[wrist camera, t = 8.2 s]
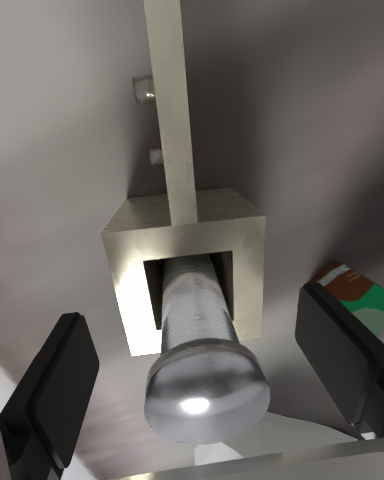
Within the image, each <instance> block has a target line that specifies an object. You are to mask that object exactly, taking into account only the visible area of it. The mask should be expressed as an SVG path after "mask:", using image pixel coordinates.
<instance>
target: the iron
mask: <svg viewBox="0 0 384 480" xmlns="http://www.w3.org/2000/svg"><path fill="white" fill-rule="evenodd" d="M354 441H358V439H356V438H353V437H351V436H349V435H346V434H344V433H342V432H339V431H337V430H335V429H332V428H330V427H328V426H324V425H320V424H317V423H313V422H310V421H305V420H300V419H295V418H289V417H285V416H281V415H278V414H274V413H270V412H267V411H266V413H265V414H264V416H263V417H262V418H261V420H260V421H259V422H258V423H257V424H256V425H254V426H253V427H252V428H250V429H249V430H248V431H246V432H244V433H243V434H241V435H239V436H236V437H234V438H232V439H229V440H226V441H222V442H218V443H213V444H205V445H194V447H195V466H197V465H203V464H209V463H216V462H222V461H228V460H235V459H241V458H247V457H254V456H260V455H266V454H273V453H280V452H286V451H293V450H299V449H306V448H312V447H319V446H326V445H332V444H339V443H346V442H354Z"/></svg>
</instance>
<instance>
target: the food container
mask: <svg viewBox="0 0 384 480" xmlns="http://www.w3.org/2000/svg"><path fill="white" fill-rule="evenodd" d="M315 282H319V283H321V284H322V285H323V286H324V287H325V288H326V289H327V290H328V291H329V292H330V293H331V294H332V295H333V296H334V297H335V298H337V299H338V300H339V301H340V302H341V303H342V304H343V305H344V306H345V307H346V308H347V309H348V310H349V311H350V312H351V313H352V314H353V315H354V316H355V317H356V318H358V319H359V320H360V321H361V322H362V323H363V324H364V325H365V326H366V327H367V328H368V329H369V330H370V331H371V332H372V333H373V334H374V335H375V336H376V337H377V338H378V339H380V340H381V341H382V342H383V343H384V288H382V287H381V286H379V285H378V284H376V283H374V282H373V281H371V280H369V279H368V278H366V277H364V276H363V275H361V274H360V273H358V272H356V271H355V270H353V269H351V268H350V267H348V266H346V265H345V264H343V263H342V262H340V261H337V262H335V263H333V264H331V265H329V266H327V267H326V268H324V269H323V270H322V271H321V272H320V273H318V274H317V275H316V276H315V277H313V278H312V279H311V281H310V282H309V283H315ZM352 425H353V424H352ZM353 426H354V425H353ZM361 435H362V436H363V437H364V438H365V439H366V440H369V439H377V436H376V435H375V433H374V432H370V433H364V434H361Z"/></svg>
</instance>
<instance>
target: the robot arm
mask: <svg viewBox="0 0 384 480" xmlns="http://www.w3.org/2000/svg"><path fill="white" fill-rule="evenodd" d="M295 338H296V341H297V343H298V345H299V346H300V348H301V350H302V351H303V353H304V354H305V356H306V358H307V359H308V361H309V362H310V364H311V366H312V367H313V369H314V370H315V372H316V373H317V375H318V377H319V378H320V380H321V381H322V383H323V385H324V386H325V388H326V389H327V391H328V393H329V394H330V396H331V397H332V399H333V401H334V402H335V404H336V405H337V407H338V408H339V410H340V412H341V413H342V415H343V416H344V418H345V419H346V421H347V422H348V423H349V424H353V425H354V427H355V429H356V430H357V432H358V433H359V434H364V433H370V432H374V433H375V435H376V436H377V439H369V440H361V441H354V442H346V443H339V444H332V445H326V446H319V447H312V448H306V449H299V450H293V451H286V452H280V453H273V454H266V455H260V456H254V457H247V458H241V459H235V460H228V461H222V462H216V463H209V464H203V465H197V466H190V467H184V468H178V469H172V470H166V471H159V472H153V473H147V474H141V475H135V476H129V477H123V478H117V479H111V480H384V343H383V342H382V341H381V340H380V339H378V338H377V337H376V336H375V335H374V334H373V333H372V332H371V331H370V330H369V329H368V328H367V327H366V326H365V325H364V324H363V323H362V322H361V321H360V320H359V319H358V318H356V317H355V316H354V315H353V314H352V313H351V312H350V311H349V310H348V309H347V308H346V307H345V306H344V305H343V304H342V303H341V302H340V301H339V300H338V299H337V298H335V297H334V296H333V295H332V294H331V293H330V292H329V291H328V290H327V289H326V288H325V287H324V286H323V285H322V284H321V283H319V282H315V283H307V284H304V286H303V287H302V288H300V293H299V302H298V311H297V320H296V329H295ZM98 371H99V359H98V356H97V353H96V350H95V347H94V344H93V341H92V338H91V335H90V332H89V329H88V326H87V323H86V320H85V317H84V316H83V315H80V314H79V313H78V312H74V313H66V314H62V316H61V317H60V319H59V320H58V322H57V324H56V325H55V327H54V328H53V330H52V332H51V333H50V335H49V337H48V338H47V340H46V342H45V343H44V345H43V346H42V348H41V350H40V351H39V352H38V354H37V355H36V356H35V358H34V360H33V361H32V363H31V365H30V366H29V368H28V369H27V371H26V373H25V374H24V376H23V378H22V379H21V381H20V382H19V384H18V386H17V387H16V389H15V391H14V392H13V394H12V396H11V397H10V399H9V400H8V402H7V404H6V405H5V407H4V409H3V410H2V412H1V413H0V480H61V477H62V474H63V471H64V468H67V467H68V466H69V464H70V462H71V459H72V456H73V453H74V449H75V446H76V443H77V439H78V436H79V433H80V430H81V426H82V423H83V420H84V417H85V413H86V410H87V407H88V403H89V400H90V397H91V394H92V390H93V387H94V384H95V380H96V377H97V374H98Z"/></svg>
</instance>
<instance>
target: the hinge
mask: <svg viewBox="0 0 384 480" xmlns="http://www.w3.org/2000/svg"><path fill="white" fill-rule="evenodd" d="M143 2H144V9H145V17H146V25H147V33H148V41H149V49H150V57H151V65H152V73H153V76H143V77H133V78H132V81H133V89H134V95H135V99H136V103H137V104H144V103H156V105H157V113H158V121H159V128H160V136H161V144H162V148H155V149H149V156H150V163H151V166H162V165H164V168H165V176H166V184H167V192H168V194H164V195H154V196H144V197H135V198H126V200H125V201H124V202H123V204H122V205H121V207H120V208H119V209H118V211H117V212H116V214H115V215H114V216H113V218H112V219H111V221H110V222H109V223H108V225H107V226H106V228H105V229H104V230H103V232H102V233H101V235H102V239H103V243H104V247H105V251H106V255H107V259H108V263H109V267H110V271H111V275H112V279H113V283H114V287H115V291H116V294H117V298H118V302H119V306H120V310H121V314H122V318H123V322H124V326H125V330H126V334H127V338H128V342H129V346H130V350H131V354H132V356H134V355H141V354H149V353H156V352H160V349H161V326H162V303H163V279H164V268H160V264H159V259H162V258H170V257H179V256H188V255H196V254H205V253H213V262H212V264H213V267H214V270H215V273H216V276H217V279H218V282H219V285H220V288H221V290H222V293H223V296H224V299H225V302H226V305H227V308H228V311H229V314H230V317H231V320H232V323H233V325H234V328H235V331H236V334H237V337H238V340H239V341H245V340H253V339H260V338H261V330H262V304H263V277H264V251H265V225H266V215H265V214H263V213H262V212H261V211H260V210H258V209H257V208H256V207H254V206H253V205H252V204H251V203H249V202H248V201H247V200H246V199H244V198H243V197H242V196H241V195H239V194H238V193H237V192H236V191H234V190H233V189H232V188H221V189H212V190H202V191H195V182H194V170H193V157H192V145H191V132H190V120H189V107H188V95H187V82H186V70H185V57H184V45H183V32H182V20H181V7H180V0H143Z"/></svg>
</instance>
